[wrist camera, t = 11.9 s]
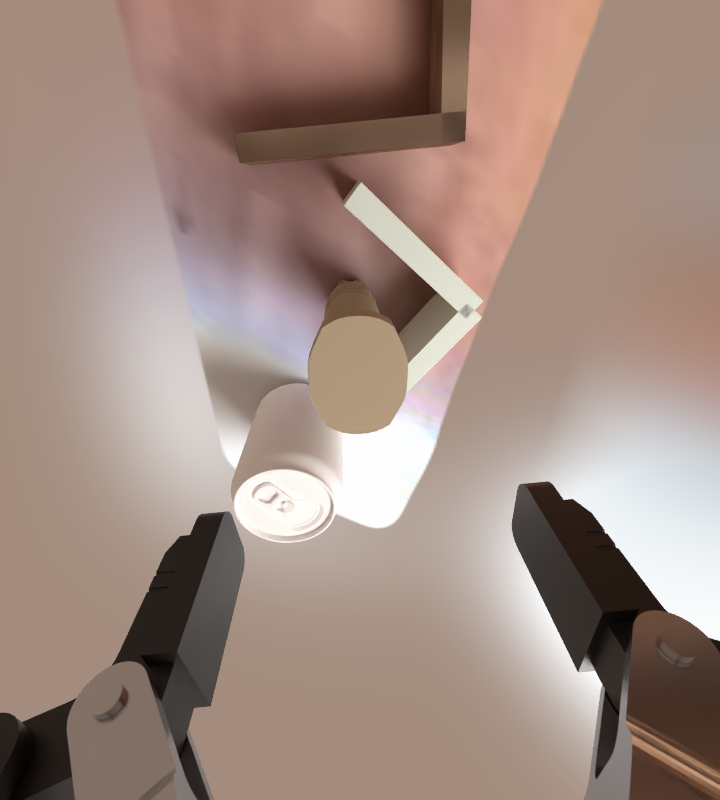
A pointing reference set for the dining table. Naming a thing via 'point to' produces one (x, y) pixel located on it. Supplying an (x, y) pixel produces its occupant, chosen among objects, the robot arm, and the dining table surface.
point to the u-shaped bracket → (392, 133)
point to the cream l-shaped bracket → (453, 300)
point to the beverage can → (288, 469)
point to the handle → (356, 363)
